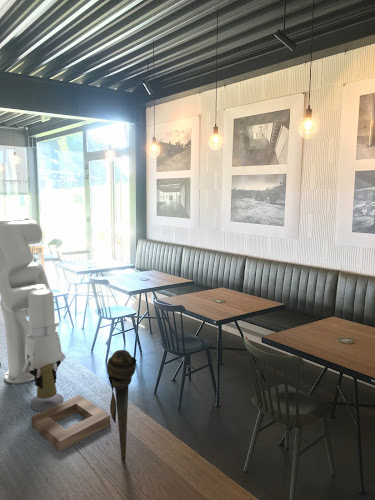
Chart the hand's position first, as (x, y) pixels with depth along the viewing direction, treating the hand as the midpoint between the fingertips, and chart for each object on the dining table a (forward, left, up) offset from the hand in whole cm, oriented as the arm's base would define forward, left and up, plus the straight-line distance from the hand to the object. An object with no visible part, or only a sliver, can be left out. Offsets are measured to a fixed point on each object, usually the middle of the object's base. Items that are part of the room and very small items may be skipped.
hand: (46, 384), depth 124 cm
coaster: (0, 0, -7) cm, 7 cm away
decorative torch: (+39, 0, -7) cm, 39 cm away
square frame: (+16, -1, -7) cm, 17 cm away
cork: (0, 0, -3) cm, 3 cm away
